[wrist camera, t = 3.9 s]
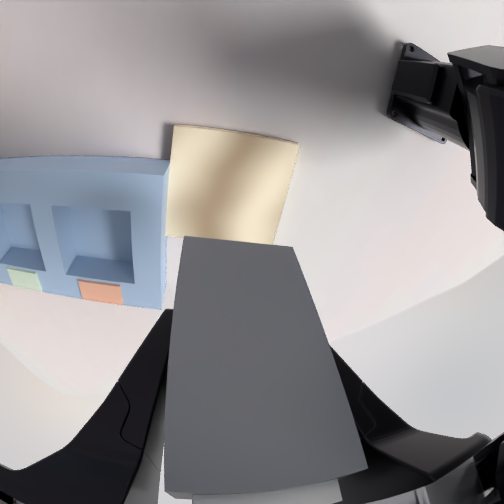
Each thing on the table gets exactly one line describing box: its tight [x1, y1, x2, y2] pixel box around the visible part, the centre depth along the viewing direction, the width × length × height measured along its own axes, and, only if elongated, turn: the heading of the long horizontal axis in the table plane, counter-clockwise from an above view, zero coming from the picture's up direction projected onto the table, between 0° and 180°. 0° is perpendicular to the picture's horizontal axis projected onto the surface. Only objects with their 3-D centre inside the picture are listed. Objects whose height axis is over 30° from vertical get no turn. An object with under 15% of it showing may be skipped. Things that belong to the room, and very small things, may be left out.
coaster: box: [165, 124, 300, 245], centre depth 18 cm, size 8×8×1 cm
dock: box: [0, 156, 170, 310], centre depth 17 cm, size 18×11×3 cm, turn 79°
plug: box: [164, 236, 368, 504], centre depth 8 cm, size 4×4×9 cm
